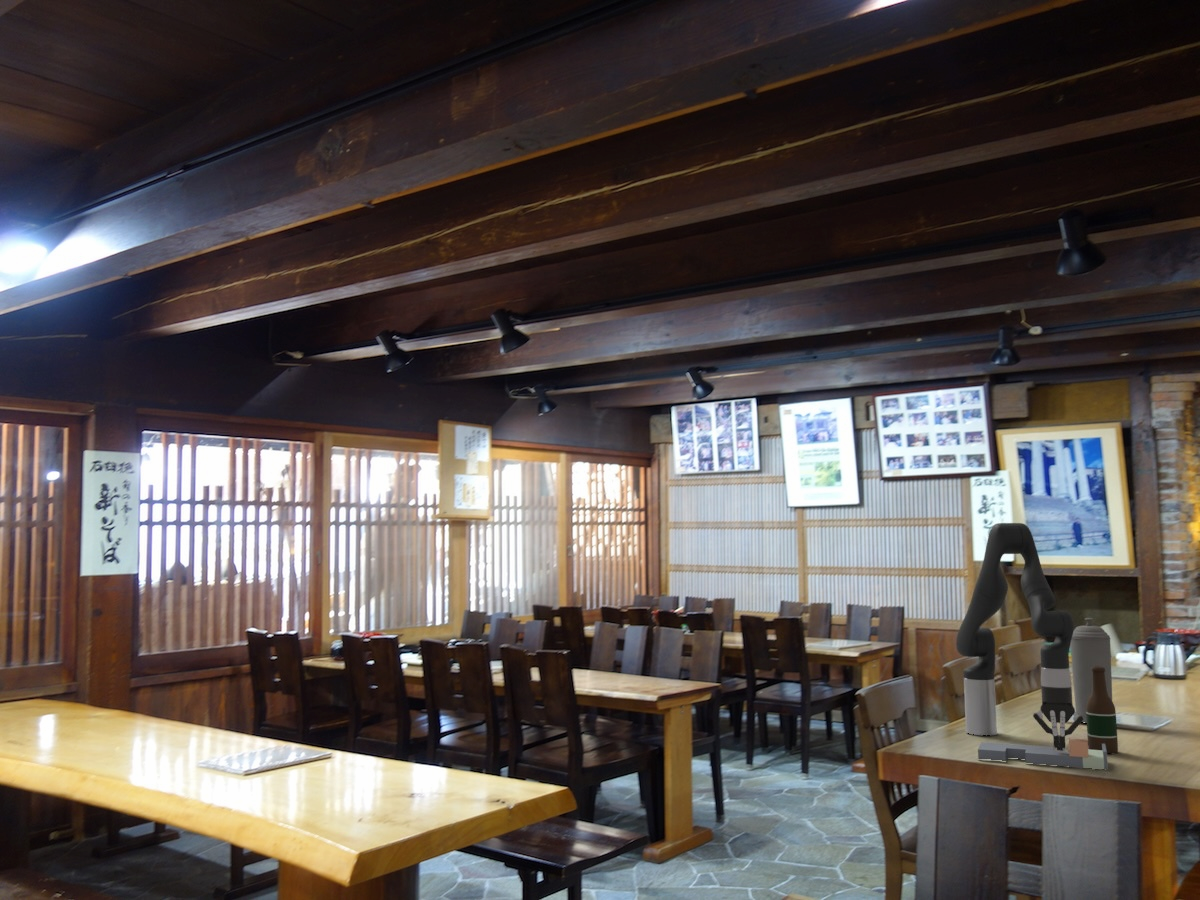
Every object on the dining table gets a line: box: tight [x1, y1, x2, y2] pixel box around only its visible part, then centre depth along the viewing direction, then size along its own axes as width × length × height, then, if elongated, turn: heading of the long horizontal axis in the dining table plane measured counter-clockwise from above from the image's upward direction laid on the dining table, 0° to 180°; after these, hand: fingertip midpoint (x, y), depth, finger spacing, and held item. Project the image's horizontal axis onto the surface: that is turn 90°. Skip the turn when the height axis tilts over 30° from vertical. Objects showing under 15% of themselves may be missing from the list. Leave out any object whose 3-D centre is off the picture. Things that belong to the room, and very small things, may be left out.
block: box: [1068, 737, 1089, 757], centre depth 262 cm, size 4×4×4 cm
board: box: [977, 741, 1109, 771], centre depth 269 cm, size 12×32×5 cm, turn 65°
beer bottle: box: [1086, 666, 1119, 754], centre depth 283 cm, size 8×8×24 cm
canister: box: [1069, 617, 1113, 723], centre depth 331 cm, size 13×13×35 cm
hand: (1059, 749), depth 265 cm, fingers closed
